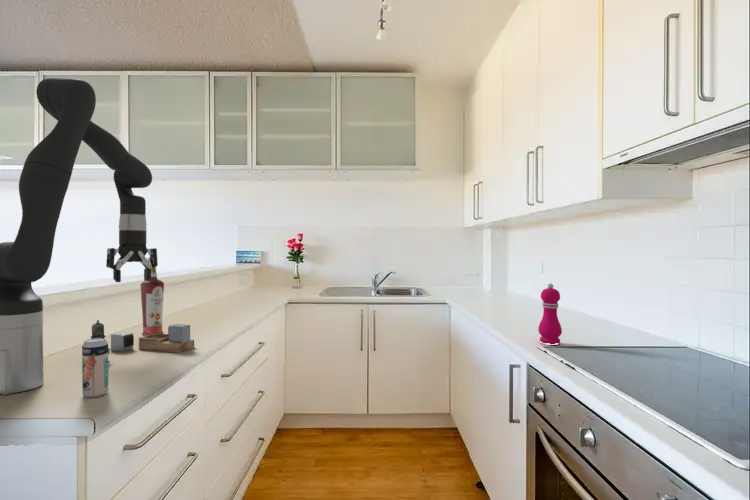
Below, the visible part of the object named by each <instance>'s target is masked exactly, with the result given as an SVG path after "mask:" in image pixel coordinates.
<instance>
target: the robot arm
mask: <svg viewBox="0 0 750 500" xmlns="http://www.w3.org/2000/svg"><path fill="white" fill-rule="evenodd" d="M35 92H36V98H37V101H38V102H39V104H40V106H41V107H42V109H43V110H45V112H46V113H47V114H48V115H50V116H51V117H53V118H54V119H55V120H56V121H57V122H56V124H55V126H54V127H53V129H52V130H51V131H50V132H49V133H48V134H47V135H46V136H45V137H44V138H43V139H42V140H40V142H39V143H38V144H37V145H35V147H34V148H32V149H31V151H30V152H29V153H28V155H27V157H26V159H25V160H24V163H23V167H22V170H21V173H20V177H19V181H18V194H19V200H20V206H21V211H22V213H21V214H22V215H21V222H20V225H19V228H18V231H17V234H16V236H15V239H14V241H7V242H6V241H5V242H0V395H5V396H6V395H10V394H14V393H19V392H20V393H22V392H25V391H29V390H33V389H37V388H38V387H41V386H42V385H44V382H45V381H44V379H45V378H44V375H45V373H44V324H43V323H44V319H43V318H44V317H43V316H44V312H43V311H44V310H43V309H44V305H43V299H42V298H41V297H40V296H38V294H37V293H35V291H34V289H33V287H32V283H35V282H36V281H39V280H40V279H42V278H43V277H44V276H45V275H46V273H48V270H49V268H50V266H51V260H52V257H53V256H52V255H53V251H54V250H53V249H54V242H55V237H56V232H57V226H58V222H59V219H60V215H61V212H62V208H63V204H64V201H65V197H66V194H67V192H68V191H67V190H68V188H69V184H70V181H71V177H72V174H73V169H74V166H75V162H76V159H77V156H78V153H79V150H80V147H81V144H82V141H83V142H84V143H85V145H87V146H88V148H90V149H91V150H93V152H94V153H95V154H96V156H98V157H99V159H100V160H101V161H102V162H103V163H104V164H105V165H106V166H107V167H108V168H110V169H111V170H112V171H114V172H113V181H114V185H115V189H116V191H117V196H118V198H119V219H118V248H114V247H108V248H107V249H106V251H107V252H106V265H105V266H106V268H108V269H112V273H113V274H112V276H113V277H112V278H113V280H114V282H115V283H121V282H122V280H121V279H122V277H121V275H122V273H121V268H122V267H123V266H124V265H125V264H127V263H132V262H133V263H138V262H139V263H140V264H141V265H142V266H143V267H144V269H143V281H149V279H151V269H152V268H153V267H156V268H157V267H158V250H157V249H158V248H156V247H150V248H148V247H147V218H146V217H147V216H146V210H147V209H146V204H147V203H146V199H145V197H143V196H140V195H135V194H134V192H133V190H132V189H144V188H148V187H149V186H150V185H151V184H152V182H153V175H152V171H151V170H150V168H149V167H148V166H147V164H145V163H143V162H142V161H141V160H140V159H139V158H137V157H135V155H133V154H131V153H129V151H128V150H127V148H126V147H125V146H124V145H123V144H122V142H121V141H120V140H119V139H118V138H117V137H116V136H115V135H113V134H112V133H111V132H109V131H107V130H106V129H105V128H103V127H101V126H100V125H99V124H98V123H95V122H94V121H93V120H91V119H92V118H93V116H94V112H95V111H96V110H95V109H96V104H97V103H96V101H97V98H96V93H95V90H94V88H93V86H92V85H91V83H89V82H87V81H86V80H84V79H79V78H66V77H65V78H64V77H63V78H61V77H59V78H58V77H53V78H52V77H51V78H50V77H49V78H44V79H42V80H41V81H40V82H38V84H37V86H36V91H35ZM117 254H118V255H119V256H120V257H118V259H117V260H116V262H115V256H116V255H117ZM147 254H148V255H149V257H150V263H149V262H148V257H146V255H147Z"/></svg>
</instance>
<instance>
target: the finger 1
mask: <svg viewBox="0 0 750 500" xmlns="http://www.w3.org/2000/svg"><path fill="white" fill-rule="evenodd" d="M134 335H135V334H134V333H133V332H122V331H120V332H116V333H111V334H110V349H111V350H110V351H112V352H113V351H114V352H121V353H122V352H123V353H125V352H128V351H131V350H134V345H135V344H134V342H135V341H134V340H135V339H134V338H135V337H134Z"/></svg>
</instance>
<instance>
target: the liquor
mask: <svg viewBox="0 0 750 500" xmlns="http://www.w3.org/2000/svg"><path fill="white" fill-rule="evenodd" d="M147 260H148V262H149V263H150V256H148V257H147ZM164 291H165V282H163V281H162V280H160V279H158V274H157V266H156V267H153V268H152V269H151V279H149V281H144V280H143V281H142V282H141V283H140V297H141V298H140V299H141V300H140V301H141V312H142V313H141V314H142V315H141V316H142V332H141V336H142V337H143V336H147V335H151V334H155V333H160V334H164V331H163V316H164V315H163V313H164V312H163V311H164V310H163V309H164Z"/></svg>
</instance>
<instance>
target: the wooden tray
mask: <svg viewBox="0 0 750 500" xmlns="http://www.w3.org/2000/svg"><path fill="white" fill-rule="evenodd" d="M193 348H195V339H193V338H190V341H188V342H184V343H175V342H169V337H168V333H163V334H160V333H155V334H151V335H147V336H143V335H142V336H141V337H138V350H148V351H156V352H157V351H159V352H166V353H167V352H169V353H176V354H177V353H181V352H184V351H187V350H192V349H193Z"/></svg>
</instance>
